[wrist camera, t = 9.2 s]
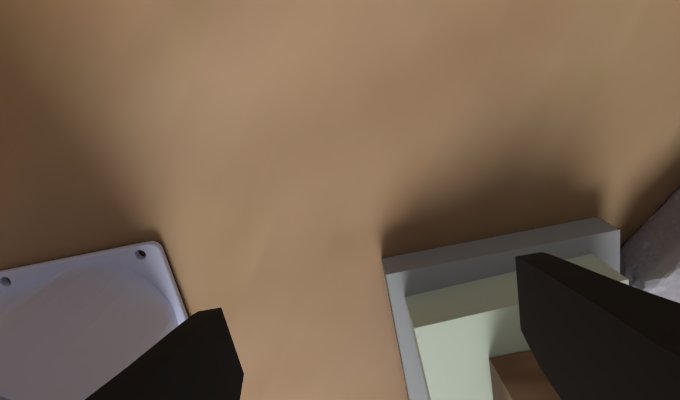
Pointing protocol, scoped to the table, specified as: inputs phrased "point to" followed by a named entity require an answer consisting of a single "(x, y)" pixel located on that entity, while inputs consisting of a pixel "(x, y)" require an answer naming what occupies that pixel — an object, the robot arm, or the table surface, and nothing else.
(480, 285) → the green top slab
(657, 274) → the stone block
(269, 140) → the table surface
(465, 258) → the grey base slab
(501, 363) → the walnut cube
